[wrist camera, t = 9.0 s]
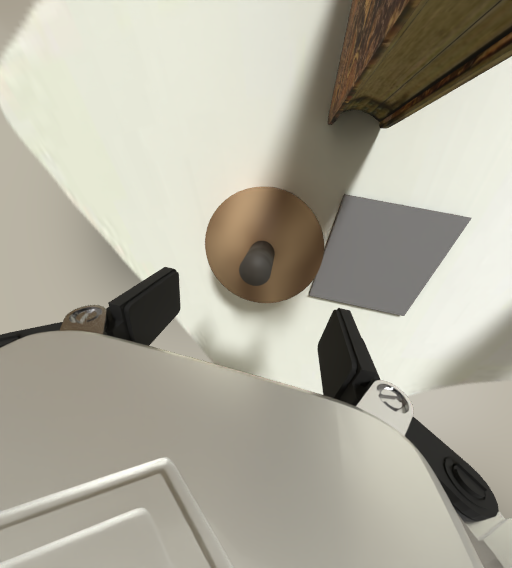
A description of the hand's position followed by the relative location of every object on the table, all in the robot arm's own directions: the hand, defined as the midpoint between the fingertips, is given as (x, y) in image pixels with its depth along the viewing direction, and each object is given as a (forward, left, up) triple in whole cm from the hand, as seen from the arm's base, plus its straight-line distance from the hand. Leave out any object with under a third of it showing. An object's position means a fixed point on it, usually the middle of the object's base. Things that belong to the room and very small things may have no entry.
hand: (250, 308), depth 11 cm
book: (-5, -21, -17) cm, 27 cm away
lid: (+1, 0, -12) cm, 12 cm away
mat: (-14, 0, -17) cm, 22 cm away
